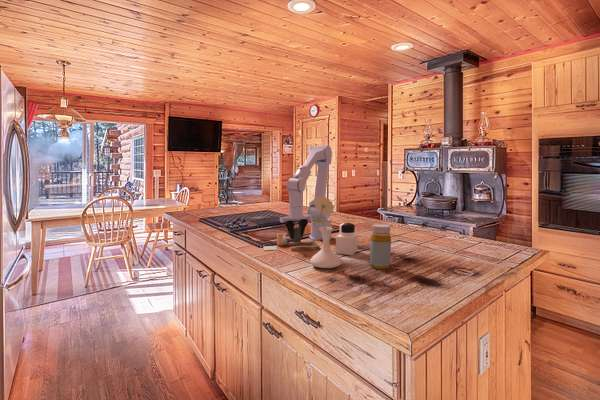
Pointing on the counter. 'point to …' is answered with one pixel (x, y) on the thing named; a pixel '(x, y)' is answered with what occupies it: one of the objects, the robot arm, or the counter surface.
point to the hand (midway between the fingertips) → (296, 237)
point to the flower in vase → (325, 237)
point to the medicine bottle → (347, 239)
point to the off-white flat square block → (269, 248)
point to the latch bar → (281, 239)
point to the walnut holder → (314, 247)
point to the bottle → (380, 246)
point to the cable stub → (296, 234)
